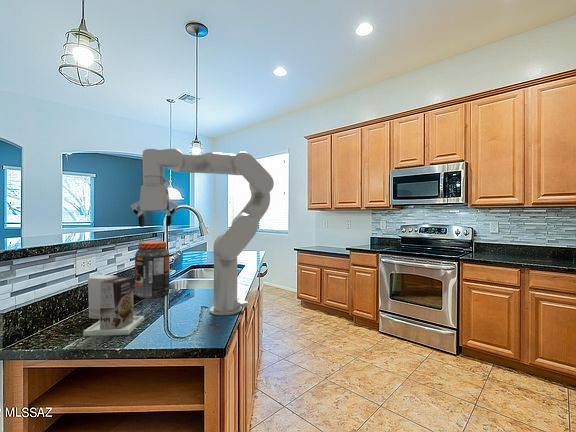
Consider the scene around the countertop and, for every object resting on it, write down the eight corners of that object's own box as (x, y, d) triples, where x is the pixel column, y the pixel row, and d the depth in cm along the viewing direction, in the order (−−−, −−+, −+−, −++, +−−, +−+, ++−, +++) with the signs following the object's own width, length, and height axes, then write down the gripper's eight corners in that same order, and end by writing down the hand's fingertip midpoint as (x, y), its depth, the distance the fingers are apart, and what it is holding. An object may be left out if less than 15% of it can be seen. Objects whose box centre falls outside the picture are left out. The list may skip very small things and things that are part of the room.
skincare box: (119, 315, 121) (119, 275, 121) (104, 320, 114) (105, 278, 114) (101, 313, 123) (102, 274, 123) (87, 318, 117) (87, 277, 117)
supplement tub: (134, 292, 156) (134, 241, 155) (167, 289, 163) (167, 240, 163) (135, 300, 142) (135, 244, 141) (171, 296, 149) (171, 242, 149)
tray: (144, 320, 115) (144, 315, 115) (128, 334, 101) (128, 329, 101) (104, 321, 114) (105, 316, 114) (83, 335, 100) (83, 330, 100)
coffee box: (116, 331, 103) (116, 282, 103) (99, 329, 104) (99, 281, 104) (134, 321, 112) (134, 277, 112) (118, 320, 113) (118, 276, 113)
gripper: (179, 182, 123) (180, 225, 123) (134, 183, 121) (135, 226, 121) (174, 180, 116) (176, 226, 116) (126, 181, 114) (127, 227, 114)
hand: (155, 226), depth 119 cm, fingers open, 9 cm apart
